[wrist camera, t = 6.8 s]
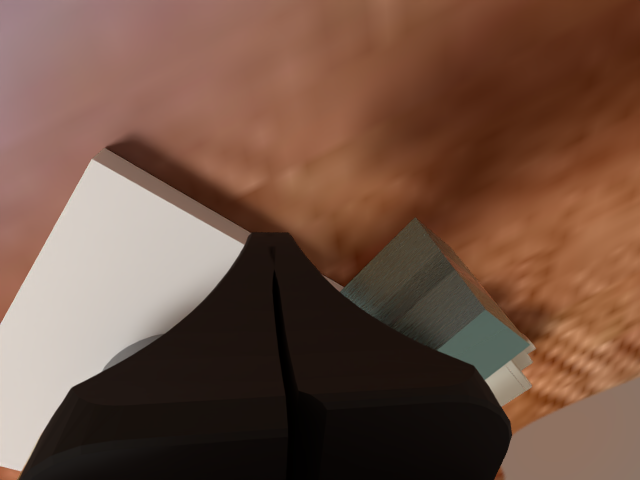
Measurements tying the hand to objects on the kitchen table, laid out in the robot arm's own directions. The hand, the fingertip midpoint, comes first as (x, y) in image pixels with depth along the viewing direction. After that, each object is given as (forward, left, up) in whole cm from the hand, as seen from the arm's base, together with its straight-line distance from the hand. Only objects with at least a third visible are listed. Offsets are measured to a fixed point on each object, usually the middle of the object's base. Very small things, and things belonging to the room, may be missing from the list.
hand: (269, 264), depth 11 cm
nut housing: (-10, -3, -5) cm, 11 cm away
